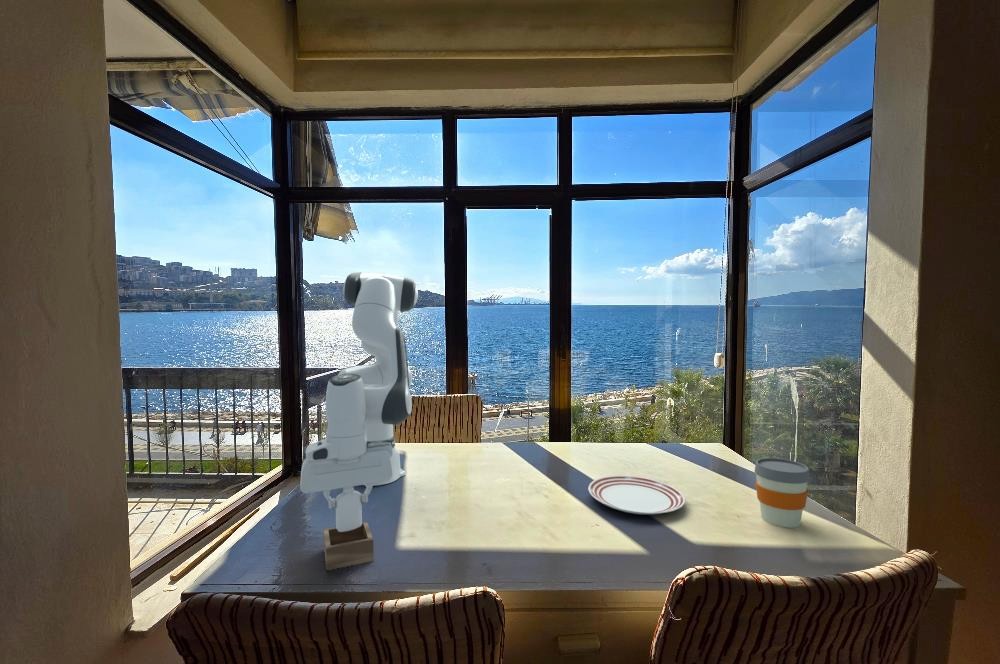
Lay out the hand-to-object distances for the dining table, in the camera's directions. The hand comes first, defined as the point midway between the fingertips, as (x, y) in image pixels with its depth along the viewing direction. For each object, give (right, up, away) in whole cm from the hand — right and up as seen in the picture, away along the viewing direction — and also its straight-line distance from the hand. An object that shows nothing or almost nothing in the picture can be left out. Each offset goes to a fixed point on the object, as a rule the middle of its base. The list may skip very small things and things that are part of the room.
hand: (348, 504), depth 107 cm
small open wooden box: (0, -12, +1) cm, 12 cm away
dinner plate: (+75, -11, +30) cm, 82 cm away
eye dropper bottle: (0, -6, 0) cm, 6 cm away
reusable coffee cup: (+110, -11, +17) cm, 112 cm away
